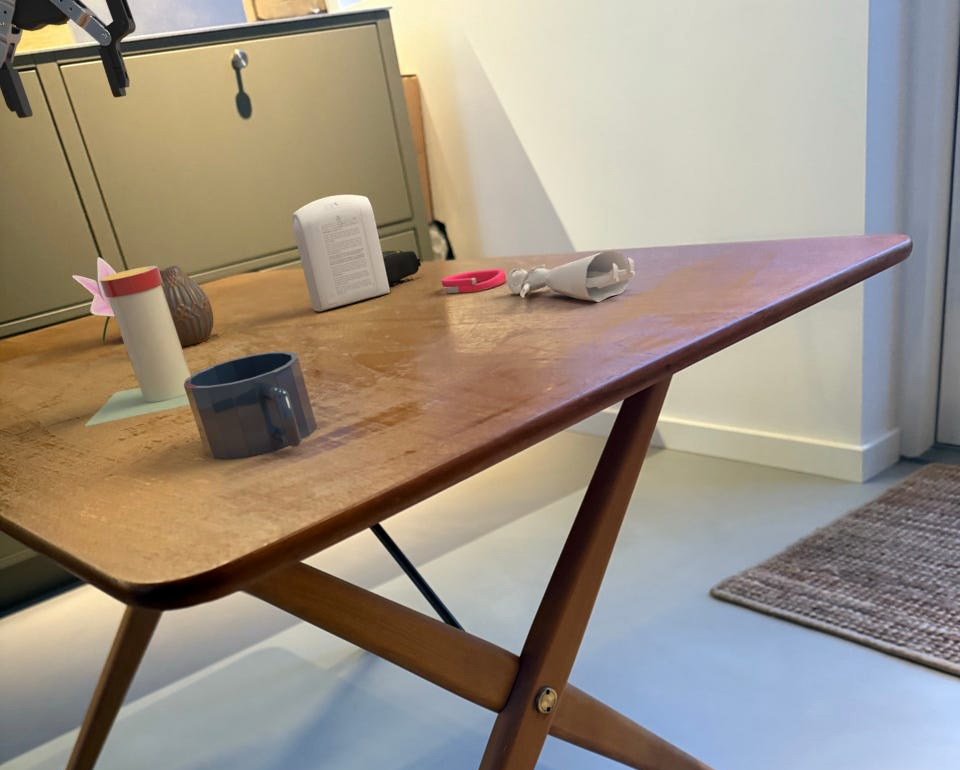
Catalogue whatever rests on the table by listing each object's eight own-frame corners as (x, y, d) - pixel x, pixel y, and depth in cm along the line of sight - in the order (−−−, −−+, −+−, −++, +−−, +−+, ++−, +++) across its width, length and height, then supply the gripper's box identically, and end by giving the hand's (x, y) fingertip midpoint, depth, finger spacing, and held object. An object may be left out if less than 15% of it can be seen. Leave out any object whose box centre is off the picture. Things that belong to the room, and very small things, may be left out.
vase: (153, 353, 124) (128, 278, 120) (181, 338, 129) (157, 266, 125) (204, 346, 122) (180, 270, 118) (229, 331, 127) (207, 257, 123)
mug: (193, 452, 83) (168, 379, 80) (290, 417, 86) (270, 346, 84) (247, 480, 74) (222, 399, 71) (354, 440, 77) (334, 362, 74)
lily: (93, 363, 131) (104, 290, 126) (46, 325, 136) (55, 253, 132) (174, 364, 140) (187, 296, 135) (127, 328, 145) (138, 261, 141)
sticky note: (85, 431, 96) (83, 426, 96) (116, 397, 106) (114, 392, 106) (231, 401, 95) (229, 396, 95) (248, 369, 106) (246, 365, 106)
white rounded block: (383, 289, 133) (360, 187, 127) (396, 292, 129) (372, 187, 123) (309, 310, 129) (282, 206, 124) (319, 314, 126) (292, 207, 120)
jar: (136, 407, 98) (92, 284, 93) (148, 392, 103) (107, 274, 98) (191, 395, 98) (150, 271, 93) (201, 381, 103) (163, 262, 98)
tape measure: (385, 291, 131) (379, 261, 130) (352, 291, 136) (345, 262, 134) (424, 277, 135) (418, 247, 134) (390, 277, 140) (384, 249, 138)
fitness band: (433, 294, 123) (430, 281, 123) (462, 281, 127) (460, 269, 126) (486, 291, 118) (484, 278, 118) (515, 278, 122) (513, 265, 122)
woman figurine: (577, 265, 97) (466, 275, 111) (586, 313, 99) (475, 316, 113) (662, 235, 102) (546, 248, 116) (669, 281, 104) (554, 288, 118)
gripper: (96, -129, 85) (161, 90, 93) (-70, -92, 86) (8, 122, 93) (70, -147, 78) (142, 90, 86) (-110, -107, 79) (-22, 125, 87)
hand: (72, 107), depth 90 cm, fingers open, 8 cm apart
